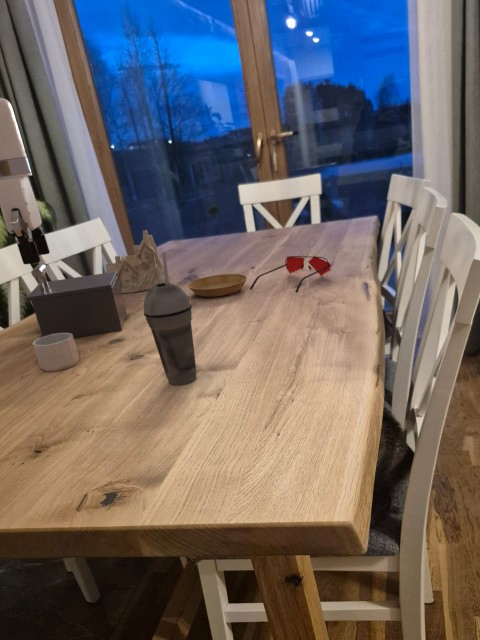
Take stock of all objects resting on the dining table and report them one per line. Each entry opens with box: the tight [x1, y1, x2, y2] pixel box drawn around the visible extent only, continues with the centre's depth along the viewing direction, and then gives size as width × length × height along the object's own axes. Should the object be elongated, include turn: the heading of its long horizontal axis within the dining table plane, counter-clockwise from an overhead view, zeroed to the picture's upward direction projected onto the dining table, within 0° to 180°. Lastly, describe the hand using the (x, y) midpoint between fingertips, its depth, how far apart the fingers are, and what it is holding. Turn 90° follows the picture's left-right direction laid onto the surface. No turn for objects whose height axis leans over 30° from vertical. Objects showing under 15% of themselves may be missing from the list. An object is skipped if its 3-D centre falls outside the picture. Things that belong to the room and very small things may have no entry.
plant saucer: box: [186, 273, 248, 298], centre depth 143 cm, size 15×15×3 cm
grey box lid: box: [25, 263, 117, 302], centre depth 122 cm, size 17×14×5 cm
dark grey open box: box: [31, 276, 128, 339], centre depth 125 cm, size 16×14×9 cm
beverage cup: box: [143, 252, 198, 386], centre depth 88 cm, size 7×7×20 cm
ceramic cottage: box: [105, 229, 170, 295], centre depth 156 cm, size 16×16×15 cm
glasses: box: [249, 255, 332, 294], centre depth 142 cm, size 14×16×5 cm
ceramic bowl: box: [31, 333, 80, 372], centre depth 105 cm, size 7×7×5 cm
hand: (37, 258), depth 119 cm, fingers open, 9 cm apart
